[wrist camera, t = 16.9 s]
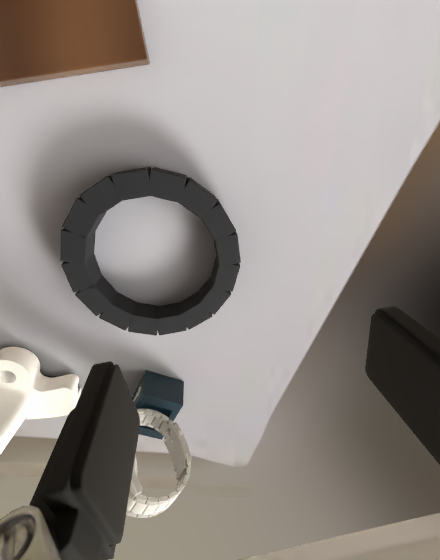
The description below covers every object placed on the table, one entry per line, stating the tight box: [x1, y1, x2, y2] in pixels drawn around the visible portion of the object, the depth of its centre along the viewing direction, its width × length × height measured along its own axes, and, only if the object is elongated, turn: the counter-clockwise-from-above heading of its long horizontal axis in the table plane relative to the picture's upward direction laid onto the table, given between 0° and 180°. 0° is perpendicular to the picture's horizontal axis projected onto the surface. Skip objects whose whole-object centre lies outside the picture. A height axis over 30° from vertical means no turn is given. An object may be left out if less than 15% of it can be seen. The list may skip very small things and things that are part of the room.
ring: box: [61, 167, 241, 335], centre depth 23 cm, size 14×14×2 cm
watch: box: [126, 370, 191, 518], centre depth 26 cm, size 6×8×11 cm
